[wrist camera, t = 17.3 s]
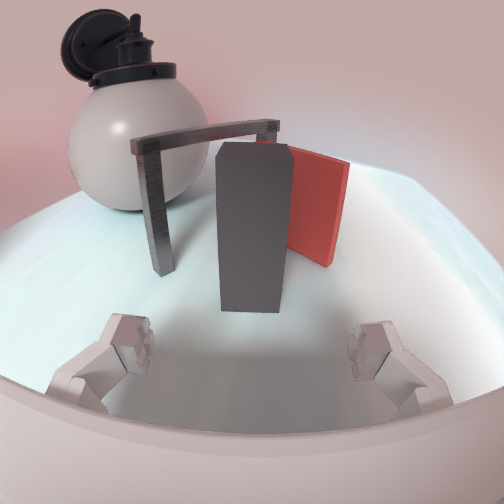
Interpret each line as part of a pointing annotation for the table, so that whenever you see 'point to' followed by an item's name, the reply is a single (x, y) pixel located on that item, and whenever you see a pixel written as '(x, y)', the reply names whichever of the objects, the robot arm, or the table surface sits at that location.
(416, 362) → the robot arm
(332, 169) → the red square panel
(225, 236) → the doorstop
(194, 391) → the table surface
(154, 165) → the frame
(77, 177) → the light fixture
